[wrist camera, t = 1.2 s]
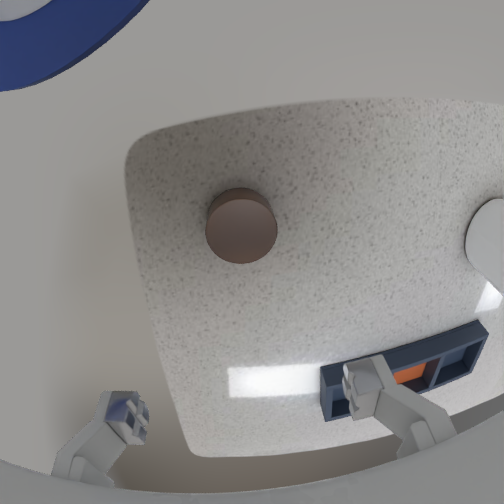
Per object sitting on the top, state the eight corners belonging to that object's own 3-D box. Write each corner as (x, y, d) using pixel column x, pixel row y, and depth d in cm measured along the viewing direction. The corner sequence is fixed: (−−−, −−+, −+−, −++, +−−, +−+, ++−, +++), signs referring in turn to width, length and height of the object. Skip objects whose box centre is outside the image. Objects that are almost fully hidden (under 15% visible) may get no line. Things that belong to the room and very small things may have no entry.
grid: (320, 366, 33) (326, 387, 30) (477, 319, 33) (489, 333, 30) (320, 404, 37) (325, 422, 34) (462, 359, 37) (471, 373, 34)
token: (201, 194, 23) (198, 206, 21) (268, 182, 23) (272, 192, 21) (215, 252, 25) (213, 269, 23) (276, 242, 25) (281, 257, 23)
